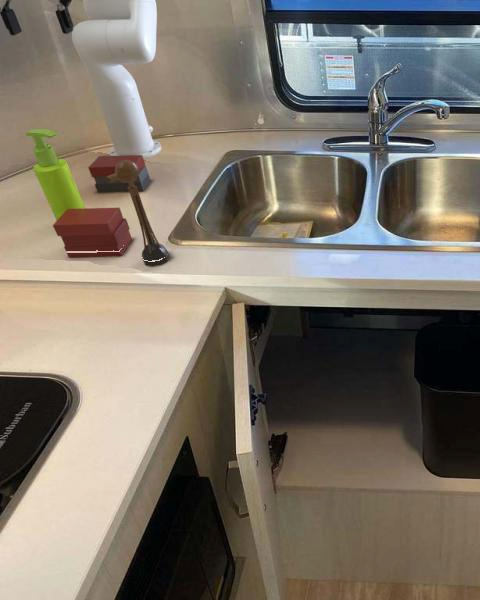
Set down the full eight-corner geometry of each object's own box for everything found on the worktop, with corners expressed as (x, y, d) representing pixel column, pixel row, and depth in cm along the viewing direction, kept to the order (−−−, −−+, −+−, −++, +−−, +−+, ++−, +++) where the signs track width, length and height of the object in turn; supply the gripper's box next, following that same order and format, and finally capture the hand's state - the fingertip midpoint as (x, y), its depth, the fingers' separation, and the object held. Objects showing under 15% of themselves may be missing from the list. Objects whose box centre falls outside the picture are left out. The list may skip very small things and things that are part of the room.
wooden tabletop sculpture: (147, 272, 102) (111, 171, 90) (133, 263, 104) (96, 164, 92) (175, 257, 106) (143, 159, 93) (160, 249, 108) (128, 152, 95)
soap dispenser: (82, 231, 114) (42, 137, 101) (53, 228, 115) (10, 135, 102) (100, 217, 118) (63, 126, 106) (71, 214, 119) (32, 124, 107)
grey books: (97, 192, 127) (91, 176, 125) (106, 181, 132) (100, 166, 129) (143, 191, 128) (138, 175, 125) (151, 180, 132) (146, 165, 129)
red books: (67, 257, 106) (52, 225, 102) (81, 240, 111) (67, 208, 106) (122, 256, 106) (110, 223, 102) (133, 239, 111) (122, 207, 107)
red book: (91, 177, 125) (87, 167, 123) (102, 165, 129) (98, 155, 128) (136, 176, 125) (133, 166, 123) (145, 164, 130) (142, 154, 128)
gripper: (62, -78, 98) (95, 27, 109) (-38, -76, 98) (5, 30, 108) (44, -74, 93) (81, 36, 103) (-63, -72, 92) (-15, 39, 102)
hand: (42, 33), depth 106 cm, fingers open, 9 cm apart
